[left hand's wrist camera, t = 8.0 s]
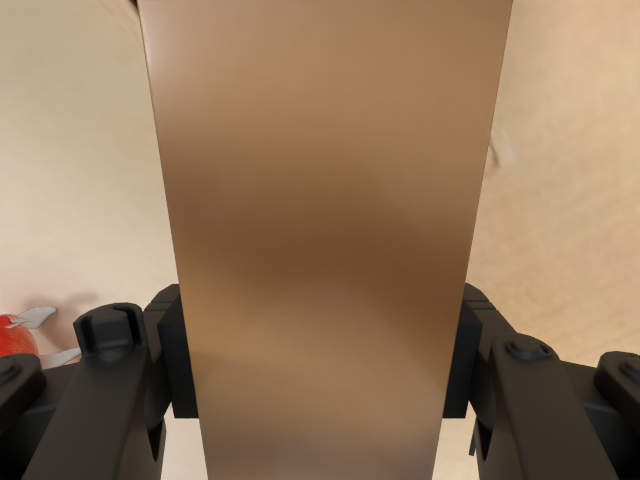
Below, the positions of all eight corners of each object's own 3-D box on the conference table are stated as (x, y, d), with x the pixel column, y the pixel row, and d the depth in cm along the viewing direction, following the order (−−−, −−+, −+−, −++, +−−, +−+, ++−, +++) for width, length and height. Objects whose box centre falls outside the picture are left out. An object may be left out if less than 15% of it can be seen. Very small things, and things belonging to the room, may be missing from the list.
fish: (32, 253, 22) (-114, 434, 16) (196, 354, 32) (147, 486, 26) (-52, 273, 26) (-192, 421, 20) (116, 356, 37) (59, 470, 31)
